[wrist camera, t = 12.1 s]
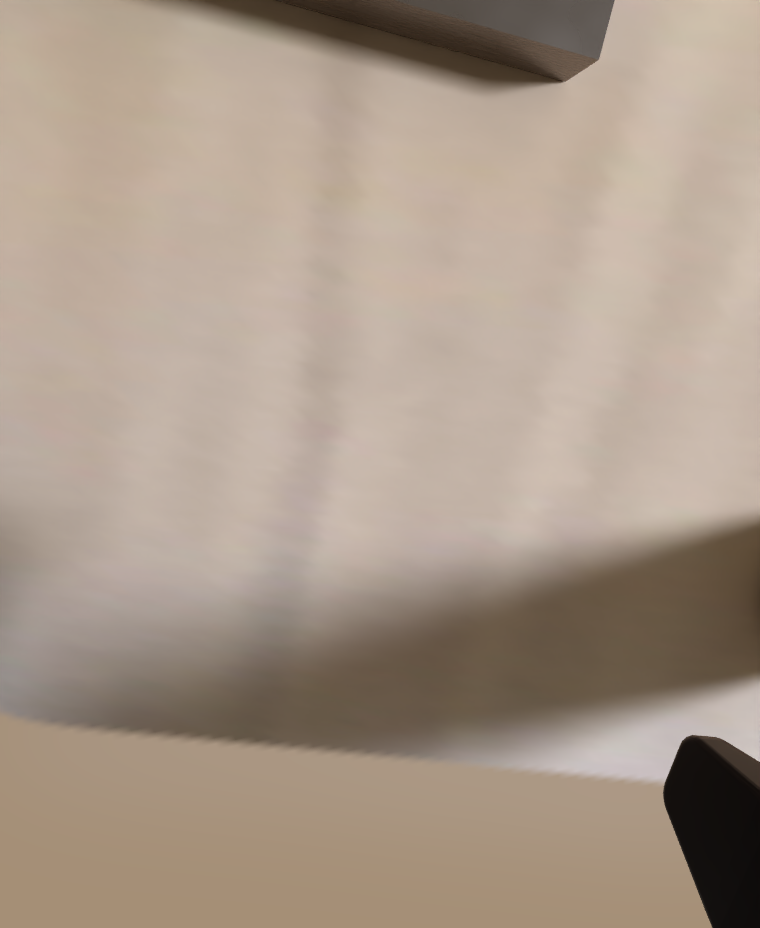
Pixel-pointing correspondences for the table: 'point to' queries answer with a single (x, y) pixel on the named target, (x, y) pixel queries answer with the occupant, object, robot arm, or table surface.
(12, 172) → the table surface
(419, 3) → the ring on base plate
